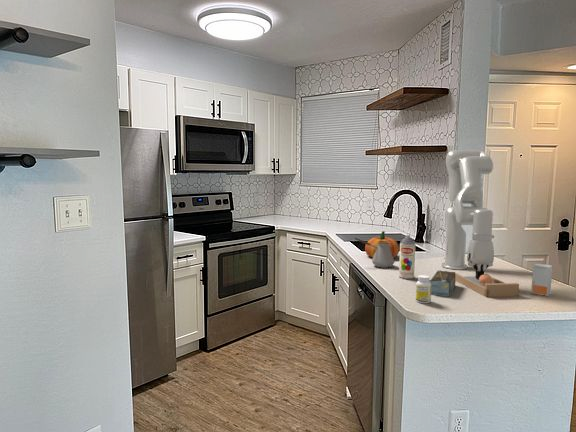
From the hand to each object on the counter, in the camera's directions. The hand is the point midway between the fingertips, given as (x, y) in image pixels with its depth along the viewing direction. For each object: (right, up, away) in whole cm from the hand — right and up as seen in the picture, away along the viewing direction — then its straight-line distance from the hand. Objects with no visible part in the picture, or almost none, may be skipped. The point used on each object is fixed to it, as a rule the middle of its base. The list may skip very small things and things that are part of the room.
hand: (479, 279), depth 179 cm
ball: (0, +1, -5) cm, 5 cm away
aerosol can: (-28, -1, +13) cm, 31 cm away
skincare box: (+19, -4, -12) cm, 23 cm away
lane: (0, -3, -3) cm, 4 cm away
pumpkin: (-29, +4, +59) cm, 66 cm away
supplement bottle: (-32, -5, -23) cm, 40 cm away
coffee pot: (-39, +1, +36) cm, 53 cm away
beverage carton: (-19, -4, -7) cm, 20 cm away
